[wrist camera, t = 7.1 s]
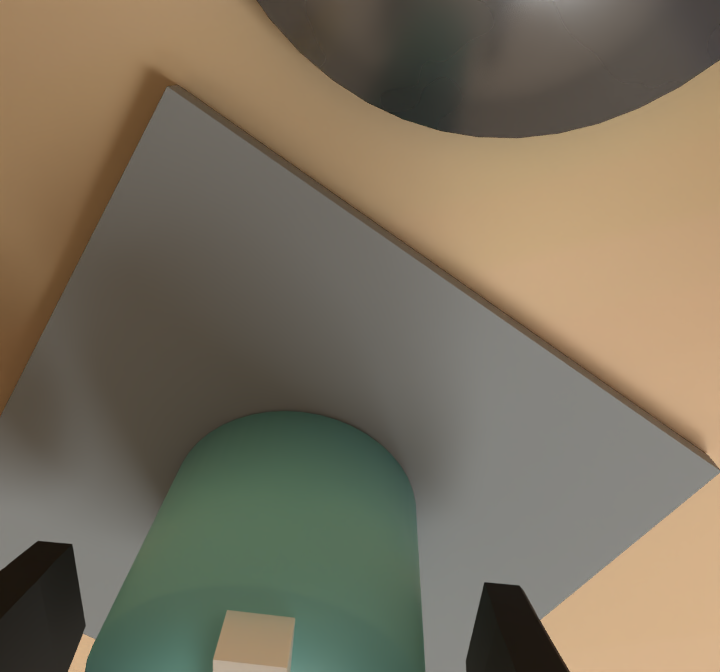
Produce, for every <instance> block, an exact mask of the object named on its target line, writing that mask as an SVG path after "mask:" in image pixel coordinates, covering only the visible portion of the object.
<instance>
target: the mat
mask: <svg viewBox="0 0 720 672" xmlns="http://www.w3.org/2000/svg"><path fill="white" fill-rule="evenodd" d="M275 411H294V412H305V413H311V414H317V415H322V416H325V417H329V418H332V419H336V420H338V421H341V422H343V423H346V424H348V425H350V426H353V427H355V428H356V429H358V430H360V431H362V432H364V433H365V434H367V435H369V436H370V437H371V438H373V439H374V440H376V441H377V442H378V443H380V444H381V445H382V446H383V447H384V448H385V449H386V450H387V451H388V452H389V453H390V454H391V455H392V456H393V457H394V458H395V459H396V461H397V462H398V463H399V464H400V466H401V467H402V469H403V471H404V472H405V474H406V476H407V477H408V479H409V482H410V484H411V487H412V489H413V493H414V497H415V502H416V517H417V534H418V551H419V568H420V585H421V602H422V620H423V637H424V654H425V671H426V672H466V657H467V653H468V649H469V645H470V640H471V636H472V632H473V628H474V623H475V619H476V615H477V611H478V607H479V602H480V598H481V594H482V590H483V585H484V582H489V583H500V584H510V585H519V586H520V587H521V588H522V589H523V590H524V592H525V594H526V595H527V597H528V599H529V601H530V603H531V605H532V607H533V608H534V610H535V612H536V614H537V616H538V618H539V619H540V620H541V619H542V618H543V617H544V616H546V615H547V614H548V613H549V612H550V611H552V610H553V609H554V608H555V607H557V606H558V605H559V604H560V603H561V602H563V601H564V600H565V599H566V598H568V597H569V596H570V595H571V594H572V593H574V592H575V591H576V590H577V589H579V588H580V587H581V586H582V585H583V584H585V583H586V582H587V581H588V580H590V579H591V578H592V577H593V576H594V575H596V574H597V573H598V572H599V571H601V570H602V569H603V568H604V567H605V566H607V565H608V564H609V563H610V562H611V561H613V560H614V559H615V558H616V557H618V556H619V555H620V554H621V553H622V552H624V551H625V550H626V549H627V548H629V547H630V546H631V545H632V544H633V543H635V542H636V541H637V540H638V539H640V538H641V537H642V536H643V535H644V534H646V533H647V532H648V531H649V530H651V529H652V528H653V527H654V526H655V525H657V524H658V523H659V522H660V521H662V520H663V519H664V518H665V517H666V516H668V515H669V514H670V513H671V512H673V511H674V510H675V509H676V508H677V507H679V506H680V505H681V504H682V503H684V502H685V501H686V500H687V499H688V498H690V497H691V496H692V495H693V494H695V493H696V492H697V491H698V490H699V489H701V488H702V487H703V486H704V485H705V484H707V483H708V482H709V481H710V480H712V479H713V478H714V477H715V476H716V475H718V474H719V473H720V469H719V468H718V467H717V466H716V464H715V463H714V462H713V461H712V459H711V458H710V457H709V456H708V455H707V454H705V453H704V452H702V451H701V450H700V449H698V448H697V447H695V446H694V445H692V444H691V443H690V442H688V441H687V440H685V439H684V438H682V437H681V436H679V435H678V434H677V433H675V432H674V431H672V430H671V429H669V428H668V427H667V426H665V425H664V424H662V423H661V422H659V421H658V420H657V419H655V418H654V417H652V416H651V415H649V414H648V413H647V412H645V411H644V410H642V409H641V408H639V407H638V406H637V405H635V404H634V403H632V402H631V401H629V400H628V399H627V398H625V397H624V396H622V395H621V394H619V393H618V392H617V391H615V390H614V389H612V388H611V387H609V386H608V385H607V384H605V383H604V382H602V381H601V380H599V379H598V378H596V377H595V376H594V375H592V374H591V373H589V372H588V371H586V370H585V369H584V368H582V367H581V366H579V365H578V364H576V363H575V362H574V361H572V360H571V359H569V358H568V357H566V356H565V355H564V354H562V353H561V352H559V351H558V350H556V349H555V348H554V347H552V346H551V345H549V344H548V343H546V342H545V341H544V340H542V339H541V338H539V337H538V336H536V335H535V334H534V333H532V332H531V331H529V330H528V329H526V328H525V327H524V326H522V325H521V324H519V323H518V322H516V321H515V320H513V319H512V318H511V317H509V316H508V315H506V314H505V313H503V312H502V311H501V310H499V309H498V308H496V307H495V306H493V305H492V304H491V303H489V302H488V301H486V300H485V299H483V298H482V297H481V296H479V295H478V294H476V293H475V292H473V291H472V290H471V289H469V288H468V287H466V286H465V285H463V284H462V283H461V282H459V281H458V280H456V279H455V278H453V277H452V276H451V275H449V274H448V273H446V272H445V271H443V270H442V269H440V268H439V267H438V266H436V265H435V264H433V263H432V262H430V261H429V260H428V259H426V258H425V257H423V256H422V255H420V254H419V253H418V252H416V251H415V250H413V249H412V248H410V247H409V246H408V245H406V244H405V243H403V242H402V241H400V240H399V239H398V238H396V237H395V236H393V235H392V234H390V233H389V232H388V231H386V230H385V229H383V228H382V227H380V226H379V225H378V224H376V223H375V222H373V221H372V220H370V219H369V218H368V217H366V216H365V215H363V214H362V213H360V212H359V211H357V210H356V209H355V208H353V207H352V206H350V205H349V204H347V203H346V202H345V201H343V200H342V199H340V198H339V197H337V196H336V195H335V194H333V193H332V192H330V191H329V190H327V189H326V188H325V187H323V186H322V185H320V184H319V183H317V182H316V181H315V180H313V179H312V178H310V177H309V176H307V175H306V174H305V173H303V172H302V171H300V170H299V169H297V168H296V167H295V166H293V165H292V164H290V163H289V162H287V161H286V160H284V159H283V158H282V157H280V156H279V155H277V154H276V153H274V152H273V151H272V150H270V149H269V148H267V147H266V146H264V145H263V144H262V143H260V142H259V141H257V140H256V139H254V138H253V137H252V136H250V135H249V134H247V133H246V132H244V131H243V130H242V129H240V128H239V127H237V126H236V125H234V124H233V123H232V122H230V121H229V120H227V119H226V118H224V117H223V116H222V115H220V114H219V113H217V112H216V111H214V110H213V109H212V108H210V107H209V106H207V105H206V104H204V103H203V102H201V101H200V100H199V99H197V98H196V97H194V96H193V95H191V94H190V93H189V92H187V91H186V90H184V89H183V88H181V87H180V86H179V85H174V86H167V88H166V90H165V92H164V94H163V96H162V98H161V100H160V102H159V104H158V106H157V108H156V110H155V112H154V113H153V115H152V117H151V119H150V121H149V123H148V125H147V127H146V129H145V131H144V133H143V135H142V137H141V139H140V141H139V143H138V145H137V147H136V149H135V151H134V153H133V155H132V157H131V159H130V161H129V163H128V165H127V167H126V169H125V171H124V173H123V175H122V177H121V179H120V181H119V183H118V185H117V187H116V189H115V191H114V193H113V195H112V197H111V199H110V201H109V203H108V205H107V206H106V208H105V210H104V212H103V214H102V216H101V218H100V220H99V222H98V224H97V226H96V228H95V230H94V232H93V234H92V236H91V238H90V240H89V242H88V244H87V246H86V248H85V250H84V252H83V254H82V256H81V258H80V260H79V262H78V264H77V266H76V268H75V270H74V272H73V274H72V276H71V278H70V280H69V282H68V284H67V286H66V288H65V290H64V292H63V294H62V296H61V298H60V300H59V301H58V303H57V305H56V307H55V309H54V311H53V313H52V315H51V317H50V319H49V321H48V323H47V325H46V327H45V329H44V331H43V333H42V335H41V337H40V339H39V341H38V343H37V345H36V347H35V349H34V351H33V353H32V355H31V357H30V359H29V361H28V363H27V365H26V367H25V369H24V371H23V373H22V375H21V377H20V379H19V381H18V383H17V385H16V387H15V389H14V391H13V393H12V394H11V396H10V398H9V400H8V402H7V404H6V406H5V408H4V410H3V412H2V414H1V416H0V571H1V570H2V569H3V568H4V567H5V566H7V565H8V564H9V563H10V562H12V561H13V560H14V559H15V558H17V557H18V556H19V555H20V554H22V553H23V552H24V551H25V550H27V549H28V548H29V547H31V546H32V545H33V544H34V543H36V542H37V541H46V542H57V543H68V544H72V545H73V551H74V557H75V563H76V569H77V575H78V581H79V587H80V593H81V599H82V605H83V611H84V618H85V624H86V627H85V629H84V632H83V634H85V635H87V636H89V637H92V638H94V639H96V638H97V636H98V634H99V632H100V630H101V628H102V626H103V624H104V622H105V620H106V618H107V616H108V614H109V612H110V609H111V607H112V605H113V603H114V601H115V599H116V597H117V595H118V593H119V591H120V589H121V587H122V585H123V583H124V581H125V579H126V577H127V575H128V573H129V571H130V569H131V567H132V565H133V562H134V560H135V558H136V556H137V554H138V552H139V550H140V548H141V546H142V544H143V542H144V540H145V538H146V536H147V534H148V532H149V530H150V528H151V526H152V524H153V522H154V520H155V518H156V516H157V513H158V511H159V509H160V507H161V505H162V503H163V501H164V499H165V497H166V495H167V493H168V491H169V489H170V487H171V485H172V483H173V481H174V479H175V477H176V475H177V473H178V471H179V469H180V466H181V464H182V463H183V461H184V459H185V458H186V456H187V455H188V453H189V452H190V451H191V449H192V448H193V447H194V446H195V445H196V444H197V443H198V442H199V441H200V440H201V439H202V438H204V437H205V436H206V435H207V434H209V433H210V432H212V431H213V430H215V429H217V428H218V427H220V426H222V425H224V424H226V423H228V422H231V421H233V420H235V419H238V418H242V417H245V416H249V415H252V414H258V413H264V412H275Z"/></svg>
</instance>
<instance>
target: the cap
mask: <svg viewBox="0 0 720 672" xmlns="http://www.w3.org/2000/svg"><path fill="white" fill-rule="evenodd" d="M85 672H426V671H425V654H424V637H423V620H422V602H421V585H420V568H419V551H418V534H417V517H416V502H415V497H414V493H413V489H412V487H411V484H410V482H409V479H408V477H407V476H406V474H405V472H404V471H403V469H402V467H401V466H400V464H399V463H398V462H397V461H396V459H395V458H394V457H393V456H392V455H391V454H390V453H389V452H388V451H387V450H386V449H385V448H384V447H383V446H382V445H381V444H380V443H378V442H377V441H376V440H374V439H373V438H371V437H370V436H369V435H367V434H365V433H364V432H362V431H360V430H358V429H356V428H355V427H353V426H350V425H348V424H346V423H343V422H341V421H338V420H336V419H332V418H329V417H325V416H322V415H317V414H311V413H305V412H294V411H275V412H264V413H258V414H252V415H249V416H245V417H242V418H238V419H235V420H233V421H231V422H228V423H226V424H224V425H222V426H220V427H218V428H217V429H215V430H213V431H212V432H210V433H209V434H207V435H206V436H205V437H204V438H202V439H201V440H200V441H199V442H198V443H197V444H196V445H195V446H194V447H193V448H192V449H191V451H190V452H189V453H188V455H187V456H186V458H185V459H184V461H183V463H182V464H181V466H180V469H179V471H178V473H177V475H176V477H175V479H174V481H173V483H172V485H171V487H170V489H169V491H168V493H167V495H166V497H165V499H164V501H163V503H162V505H161V507H160V509H159V511H158V513H157V516H156V518H155V520H154V522H153V524H152V526H151V528H150V530H149V532H148V534H147V536H146V538H145V540H144V542H143V544H142V546H141V548H140V550H139V552H138V554H137V556H136V558H135V560H134V562H133V565H132V567H131V569H130V571H129V573H128V575H127V577H126V579H125V581H124V583H123V585H122V587H121V589H120V591H119V593H118V595H117V597H116V599H115V601H114V603H113V605H112V607H111V609H110V612H109V614H108V616H107V618H106V620H105V622H104V624H103V626H102V628H101V630H100V632H99V634H98V636H97V638H96V640H95V642H94V644H93V646H92V649H91V651H90V654H89V656H88V659H87V663H86V669H85Z"/></svg>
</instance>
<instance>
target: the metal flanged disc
mask: <svg viewBox="0 0 720 672" xmlns="http://www.w3.org/2000/svg"><path fill="white" fill-rule="evenodd" d="M257 1H258V3H259V4H260V6H261V7H262V8H263V10H264V11H265V13H266V14H267V15H268V17H269V18H270V20H271V21H272V22H273V23H274V24H275V25H276V26H277V27H278V28H279V30H280V31H281V32H282V33H283V34H284V35H285V36H286V37H287V38H288V39H289V41H290V42H291V43H292V44H293V45H294V46H295V47H296V48H297V49H298V50H299V52H300V53H302V54H303V55H304V56H305V57H306V58H307V59H309V60H310V61H311V62H312V63H313V64H314V65H316V66H317V67H318V68H319V69H320V70H321V71H323V72H324V73H325V74H326V75H327V76H328V77H330V78H331V79H332V80H333V81H335V82H336V83H338V84H339V85H341V86H343V87H344V88H346V89H347V90H349V91H350V92H352V93H353V94H355V95H356V96H358V97H360V98H361V99H363V100H364V101H366V102H367V103H369V104H372V105H374V106H376V107H378V108H380V109H382V110H384V111H387V112H389V113H391V114H393V115H395V116H397V117H399V118H401V119H404V120H407V121H410V122H413V123H417V124H420V125H423V126H426V127H430V128H433V129H436V130H439V131H445V132H451V133H457V134H463V135H469V136H475V137H498V138H522V137H531V136H540V135H549V134H558V133H562V132H566V131H570V130H574V129H579V128H583V127H587V126H591V125H595V124H599V123H601V122H604V121H607V120H609V119H612V118H614V117H617V116H620V115H622V114H625V113H628V112H630V111H633V110H635V109H638V108H640V107H642V106H644V105H646V104H648V103H650V102H652V101H654V100H656V99H657V98H659V97H661V96H663V95H665V94H667V93H669V92H671V91H673V90H675V89H677V88H679V87H680V86H682V85H683V84H685V83H686V82H688V81H689V80H691V79H692V78H694V77H695V76H697V75H698V74H700V73H701V72H702V71H704V70H705V69H707V68H708V67H710V66H711V65H713V64H714V63H716V62H717V61H719V60H720V0H257Z"/></svg>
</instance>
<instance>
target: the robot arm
mask: <svg viewBox="0 0 720 672" xmlns="http://www.w3.org/2000/svg"><path fill="white" fill-rule="evenodd" d="M85 627H86V624H85V618H84V611H83V605H82V599H81V593H80V587H79V581H78V575H77V569H76V563H75V557H74V551H73V545H72V544H68V543H57V542H46V541H37V542H36V543H34V544H33V545H32V546H31V547H29V548H28V549H27V550H25V551H24V552H23V553H22V554H20V555H19V556H18V557H17V558H15V559H14V560H13V561H12V562H10V563H9V564H8V565H7V566H5V567H4V568H3V569H2V570H1V571H0V672H68V669H69V667H70V665H71V662H72V660H73V657H74V655H75V652H76V650H77V647H78V645H79V642H80V640H81V637H82V634H83V632H84V629H85ZM466 672H570V671H569V669H568V668H567V666H566V664H565V663H564V661H563V659H562V658H561V656H560V654H559V653H558V651H557V649H556V647H555V646H554V644H553V642H552V641H551V639H550V637H549V635H548V634H547V632H546V630H545V628H544V627H543V625H542V623H541V621H540V619H539V618H538V616H537V614H536V612H535V610H534V608H533V607H532V605H531V603H530V601H529V599H528V597H527V595H526V594H525V592H524V590H523V589H522V588H521V587H520V586H519V585H510V584H500V583H489V582H484V585H483V590H482V594H481V598H480V602H479V607H478V611H477V615H476V619H475V623H474V628H473V632H472V636H471V640H470V645H469V649H468V653H467V657H466Z"/></svg>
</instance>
